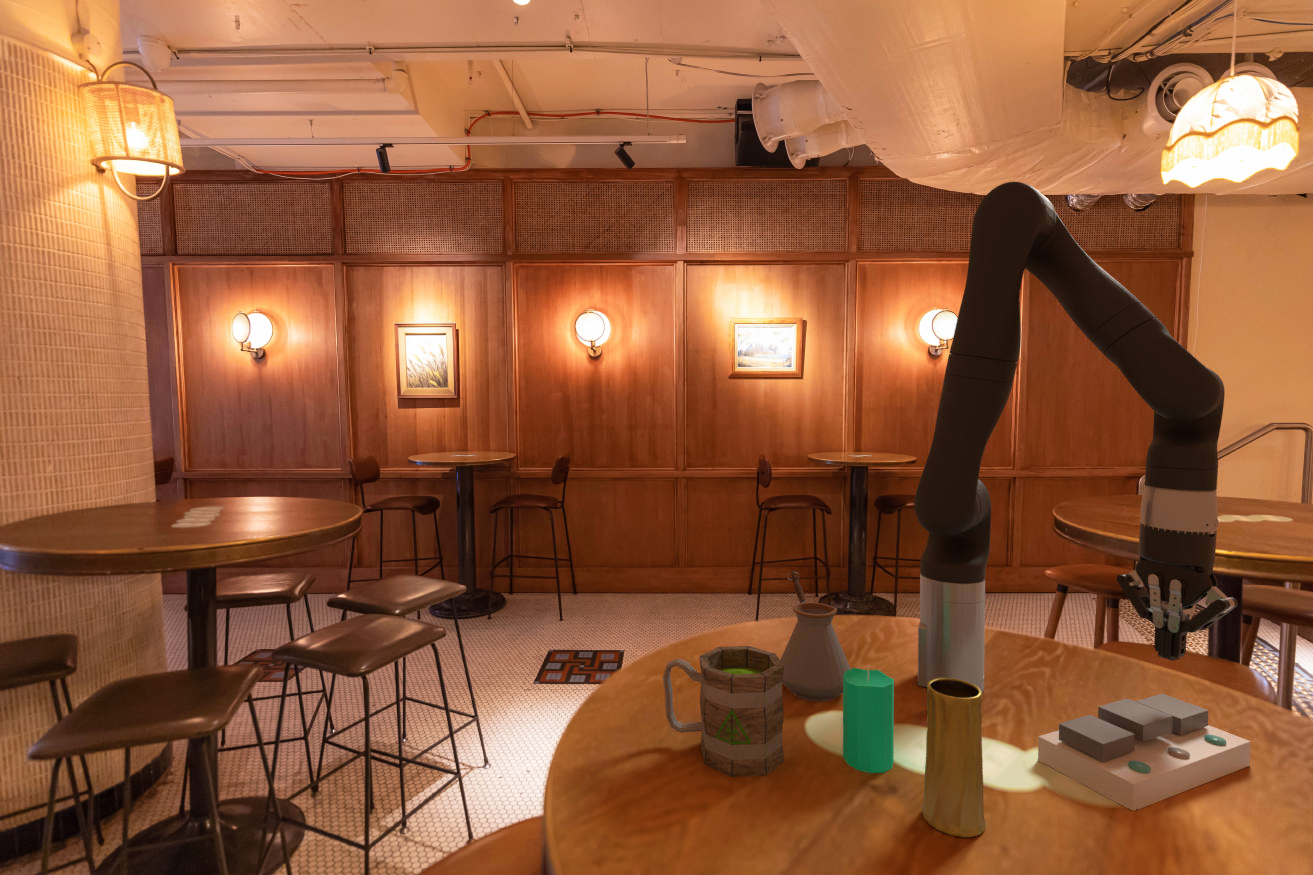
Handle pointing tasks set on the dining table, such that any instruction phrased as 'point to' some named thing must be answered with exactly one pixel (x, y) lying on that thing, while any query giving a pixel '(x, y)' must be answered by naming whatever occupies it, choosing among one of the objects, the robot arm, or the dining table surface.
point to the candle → (868, 720)
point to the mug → (736, 709)
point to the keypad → (1151, 764)
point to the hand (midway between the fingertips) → (1169, 657)
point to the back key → (1178, 712)
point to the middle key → (1136, 719)
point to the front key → (1096, 737)
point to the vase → (954, 758)
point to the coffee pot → (813, 652)
